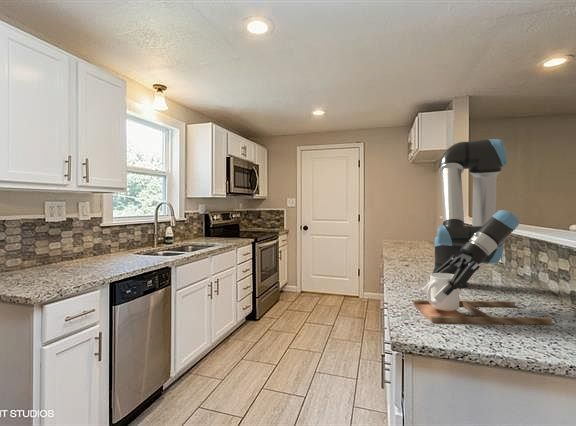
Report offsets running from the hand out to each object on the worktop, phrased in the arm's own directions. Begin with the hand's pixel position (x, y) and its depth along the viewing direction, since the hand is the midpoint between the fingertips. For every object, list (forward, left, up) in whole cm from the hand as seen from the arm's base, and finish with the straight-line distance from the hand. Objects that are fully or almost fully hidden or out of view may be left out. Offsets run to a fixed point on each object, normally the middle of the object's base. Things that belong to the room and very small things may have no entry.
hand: (430, 296), depth 106 cm
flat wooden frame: (-8, +12, -6) cm, 16 cm away
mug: (-2, +3, -4) cm, 5 cm away
